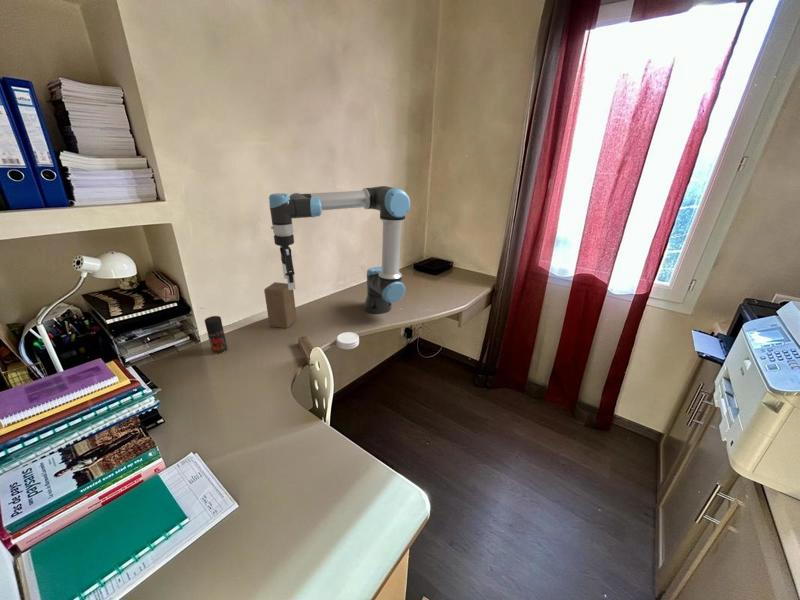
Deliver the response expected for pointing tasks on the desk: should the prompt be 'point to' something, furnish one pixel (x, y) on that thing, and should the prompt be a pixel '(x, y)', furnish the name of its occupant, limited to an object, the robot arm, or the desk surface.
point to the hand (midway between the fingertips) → (289, 283)
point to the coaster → (347, 340)
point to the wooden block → (280, 305)
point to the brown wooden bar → (305, 347)
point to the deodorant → (216, 334)
